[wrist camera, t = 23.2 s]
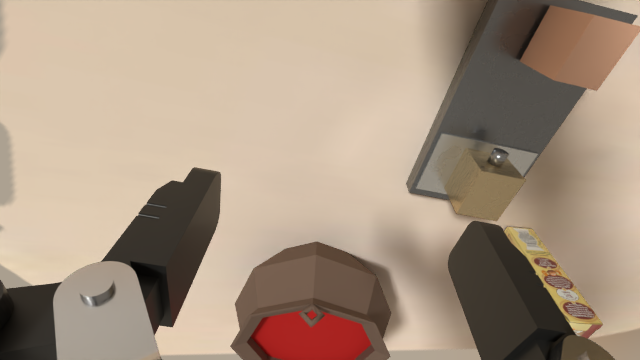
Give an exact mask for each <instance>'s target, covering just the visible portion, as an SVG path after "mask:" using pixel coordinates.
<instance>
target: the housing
mask: <svg viewBox="0 0 640 360" xmlns="http://www.w3.org/2000/svg"><path fill="white" fill-rule="evenodd" d="M508 156H509V153H508V152H506V151H505V150H503V149H500V148H494V149H493V151H492V153H488V152H484V151H479V150H474V149H469V148H465V150H464V152H463V154H462V156H461V158H460V159H459V161H458V163H457V165H456V167H455V169H454V171H453V172H452V174H451V176H450V178H449V180H448V182H447V184H446V185H445V187H444V189H445V191H446V193H447V195H448V197H449V199H450V201H451V203H452V205H453V207H454V210H455V212H456V214H462V215H467V216H472V217H478V218H483V219H488V220H493V221H497V220H498V219H499V217H500V216H501V214H502V213H503V212H504V210H505V209H506V207H507V206H508V205H509V203H510V202H511V200H512V199H513V198H514V196H515V195H516V193H517V192H518V191H519V189H520V188H521V186H522V185H523V184H524V182H525V181H526V179H525V178H524V177H523V176H522V175H521V174H520V172H519V171H518V170H517V169H516V168H515V167H514V166H513V164H512V163H511V162H510V161H509V160H508V159H507V157H508Z"/></svg>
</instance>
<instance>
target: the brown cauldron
mask: <svg viewBox="0 0 640 360" xmlns="http://www.w3.org/2000/svg"><path fill="white" fill-rule="evenodd" d="M235 306H236V311H237V317H238V322H239V327H240V331H239V333H238V334H237V336H236V338H235V339H234V341H233V343H232V344H231V346H230V347H231V348H232V349H233V350H234V351H235V352H236V353H237V354H238V355H239V356H240V357H241V358H242V359H243V360H387V359H388V358H389V357H390V354H389V352H388V350H387V348H386V346H385V343H384V341H383V336H384V333H385V330H386V327H387V324H388V321H389V318H390V315H391V311H390V309H389V306H388V304H387V301H386V299H385V296H384V294H383V291H382V289H381V286H380V284H379V281H378V279H377V276H376V275H375V274H373V273H372V272H371V271H370V270H368V269H367V268H366V267H365V266H363V265H362V264H361V263H360V262H359V261H357V260H356V259H355V258H354V257H352V256H351V255H350V254H349V253H347V252H344V251H342V250H339V249H336V248H333V247H331V246H328V245H325V244H322V243H319V242H313V243H309V244H304V245H300V246H296V247H291V248H287V249H284V250H283V251H281V252H280V253H278V254H276V255H275V256H273V257H271V258H270V259H268V260H267V261H265V262H263V263H262V264H260V265H259V266H257V267H255V268H254V269H253V271H252V273H251V274H250V276H249V278H248V280H247V282H246V284H245V286H244V288H243V289H242V291H241V293H240V295H239V297H238V299H237V301H236V303H235Z"/></svg>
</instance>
